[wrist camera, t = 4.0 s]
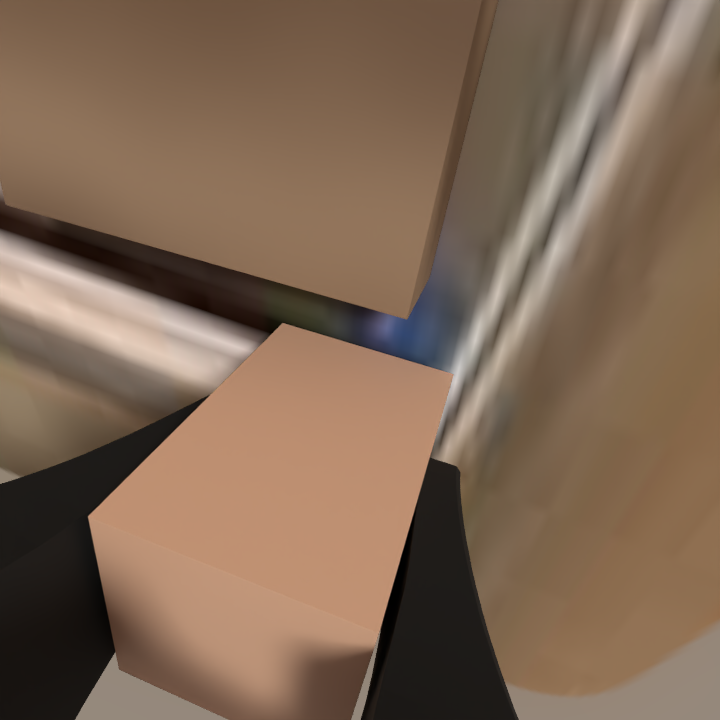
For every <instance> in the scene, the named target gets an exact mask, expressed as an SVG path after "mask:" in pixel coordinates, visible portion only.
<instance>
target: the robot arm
mask: <svg viewBox="0 0 720 720" xmlns="http://www.w3.org/2000/svg"><path fill="white" fill-rule="evenodd" d="M209 396H210V395H209ZM209 396H207V397H205V398H203V399H201V400H199V401H197V402H195V403H193V404H191V405H189V406H187V407H185V408H183V409H181V410H179V411H177V412H175V413H173V414H171V415H169V416H167V417H165V418H163V419H161V420H159V421H157V422H155V423H153V424H150V425H148V426H146V427H144V428H142V429H140V430H138V431H136V432H134V433H132V434H130V435H127V436H125V437H123V438H120V439H118V440H116V441H113V442H111V443H109V444H107V445H104V446H102V447H100V448H97V449H95V450H93V451H91V452H88V453H86V454H84V455H81V456H79V457H76V458H74V459H71V460H69V461H66V462H63V463H61V464H58V465H55V466H53V467H50V468H47V469H44V470H41V471H38V472H36V473H33V474H30V475H27V476H24V477H21V478H18V479H15V480H12V481H9V482H6V483H2V484H0V720H75V719H76V716H77V715H78V713H79V712H80V710H81V708H82V706H83V705H84V703H85V701H86V699H87V698H88V696H89V694H90V693H91V691H92V689H93V688H94V686H95V684H96V683H97V681H98V680H99V678H100V676H101V674H102V673H103V671H104V669H105V668H106V666H107V665H108V663H109V661H110V660H111V658H112V656H113V655H114V653H115V647H114V642H113V637H112V632H111V627H110V622H109V617H108V612H107V607H106V602H105V597H104V593H103V588H102V583H101V578H100V573H99V568H98V563H97V558H96V553H95V548H94V544H93V539H92V534H91V529H90V524H89V519H88V516H89V515H90V514H91V513H92V512H93V511H94V510H95V509H96V508H97V507H98V506H99V505H100V504H101V503H102V502H103V501H104V500H105V499H106V498H107V497H108V496H109V495H110V494H111V493H112V492H113V491H114V490H115V489H116V488H117V487H118V486H119V485H120V484H121V483H122V482H123V481H124V480H125V479H126V478H127V477H128V476H129V475H130V474H131V473H132V472H133V471H134V470H135V469H136V468H137V467H138V466H139V465H140V464H141V463H142V462H143V461H144V460H145V459H146V458H147V457H148V456H149V455H150V454H151V453H152V452H153V451H154V450H155V449H156V448H157V447H158V446H160V445H161V444H162V443H163V442H164V441H165V440H166V439H167V438H168V437H169V436H170V435H171V434H172V433H173V432H174V431H175V430H176V429H177V428H178V427H179V426H180V425H181V424H182V423H183V422H184V421H185V420H186V419H187V418H188V417H189V416H190V415H191V414H192V413H193V412H194V411H195V410H196V409H197V408H198V407H199V406H200V405H201V404H202V403H203V402H204V401H205V400H206V399H207V398H208V397H209ZM361 720H519V719H518V717H517V714H516V712H515V710H514V707H513V704H512V702H511V699H510V696H509V693H508V690H507V687H506V685H505V682H504V679H503V676H502V673H501V671H500V668H499V664H498V661H497V658H496V655H495V652H494V649H493V646H492V643H491V640H490V636H489V633H488V630H487V626H486V623H485V619H484V616H483V612H482V608H481V604H480V601H479V597H478V593H477V589H476V585H475V580H474V576H473V572H472V567H471V562H470V557H469V551H468V546H467V541H466V536H465V529H464V523H463V514H462V506H461V494H460V471H459V470H458V468H457V466H454V465H451V464H448V463H445V462H442V461H439V460H435V459H432V458H429V461H428V465H427V468H426V472H425V475H424V479H423V482H422V486H421V489H420V493H419V496H418V499H417V503H416V506H415V510H414V513H413V517H412V520H411V524H410V527H409V531H408V534H407V538H406V541H405V545H404V548H403V552H402V555H401V558H400V562H399V565H398V569H397V572H396V576H395V579H394V583H393V586H392V590H391V593H390V597H389V600H388V604H387V607H386V610H385V614H384V618H383V623H382V628H381V633H380V638H379V643H378V648H377V653H376V658H375V663H374V668H373V674H372V678H371V682H370V686H369V691H368V695H367V699H366V703H365V707H364V710H363V714H362V717H361Z"/></svg>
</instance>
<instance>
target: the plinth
mask: <svg viewBox="0 0 720 720" xmlns="http://www.w3.org/2000/svg"><path fill="white" fill-rule="evenodd" d="M497 4H498V0H0V181H1V186H2V190H3V195H4V199H5V204H6V205H8V206H12V207H15V208H19V209H22V210H26V211H29V212H33V213H36V214H40V215H43V216H47V217H50V218H54V219H57V220H61V221H64V222H68V223H71V224H75V225H78V226H82V227H85V228H89V229H92V230H96V231H99V232H103V233H106V234H110V235H113V236H117V237H120V238H124V239H127V240H131V241H134V242H138V243H141V244H145V245H148V246H152V247H155V248H159V249H162V250H166V251H169V252H173V253H176V254H180V255H183V256H187V257H190V258H194V259H197V260H201V261H204V262H208V263H211V264H215V265H218V266H222V267H225V268H229V269H232V270H236V271H239V272H243V273H246V274H250V275H253V276H257V277H260V278H264V279H267V280H271V281H274V282H278V283H281V284H285V285H288V286H292V287H295V288H299V289H302V290H306V291H309V292H313V293H316V294H320V295H323V296H327V297H330V298H334V299H337V300H341V301H344V302H348V303H351V304H355V305H358V306H362V307H365V308H369V309H372V310H376V311H379V312H383V313H386V314H390V315H393V316H397V317H400V318H404V319H408V317H409V315H410V313H411V311H412V309H413V307H414V306H415V304H416V302H417V300H418V298H419V296H420V294H421V292H422V291H423V289H424V287H425V285H426V283H427V281H428V279H429V277H430V274H431V270H432V266H433V262H434V258H435V254H436V249H437V245H438V241H439V237H440V233H441V229H442V225H443V221H444V217H445V213H446V209H447V205H448V201H449V197H450V193H451V189H452V185H453V181H454V177H455V173H456V169H457V165H458V161H459V157H460V153H461V149H462V145H463V141H464V137H465V133H466V129H467V125H468V121H469V117H470V113H471V109H472V105H473V101H474V97H475V93H476V89H477V85H478V81H479V77H480V73H481V69H482V65H483V61H484V57H485V53H486V49H487V45H488V41H489V37H490V33H491V29H492V25H493V21H494V17H495V12H496V8H497Z"/></svg>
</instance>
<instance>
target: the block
mask: <svg viewBox="0 0 720 720" xmlns="http://www.w3.org/2000/svg"><path fill="white" fill-rule="evenodd" d="M453 375H454V374H451V373H447V372H444V371H441V370H437V369H434V368H431V367H427V366H424V365H421V364H417V363H414V362H411V361H407V360H404V359H401V358H397V357H394V356H391V355H387V354H384V353H381V352H377V351H374V350H371V349H367V348H364V347H361V346H357V345H354V344H351V343H347V342H344V341H341V340H337V339H334V338H331V337H327V336H324V335H321V334H317V333H314V332H311V331H308V330H304V329H301V328H298V327H294V326H291V325H288V324H284V323H282V324H281V325H280V326H279V327H278V328H277V329H276V330H275V331H274V332H273V333H272V334H271V335H270V336H269V337H268V338H267V339H266V340H265V341H264V342H263V343H262V344H261V345H260V346H259V347H258V348H257V349H256V350H255V351H254V352H253V353H252V354H251V355H250V356H249V357H248V358H247V359H246V360H245V361H244V362H243V363H242V364H241V365H240V366H239V367H238V368H237V369H236V370H235V371H234V372H233V373H232V374H231V375H230V376H229V377H228V378H227V379H226V380H225V381H224V382H223V383H222V384H221V385H220V386H219V387H218V388H217V389H216V390H215V391H214V392H213V393H212V394H211V395H210V396H209V397H208V398H207V399H206V400H205V401H204V402H203V403H202V404H201V405H200V406H199V407H198V408H197V409H196V410H195V411H194V412H193V413H192V414H191V415H190V416H189V417H188V418H187V419H186V420H185V421H184V422H183V423H182V424H181V425H180V426H179V427H178V428H177V429H176V430H175V431H174V432H173V433H172V434H171V435H170V436H169V437H168V438H167V439H166V440H165V441H164V442H163V443H162V444H161V445H160V446H158V447H157V448H156V449H155V450H154V451H153V452H152V453H151V454H150V455H149V456H148V457H147V458H146V459H145V460H144V461H143V462H142V463H141V464H140V465H139V466H138V467H137V468H136V469H135V470H134V471H133V472H132V473H131V474H130V475H129V476H128V477H127V478H126V479H125V480H124V481H123V482H122V483H121V484H120V485H119V486H118V487H117V488H116V489H115V490H114V491H113V492H112V493H111V494H110V495H109V496H108V497H107V498H106V499H105V500H104V501H103V502H102V503H101V504H100V505H99V506H98V507H97V508H96V509H95V510H94V511H93V512H92V513H91V514H90V515H89V516H88V519H89V524H90V529H91V534H92V539H93V544H94V548H95V553H96V558H97V563H98V568H99V573H100V578H101V583H102V588H103V593H104V597H105V602H106V607H107V612H108V617H109V622H110V627H111V632H112V637H113V642H114V647H115V651H116V656H117V661H118V666H119V669H120V670H121V671H124V672H126V673H128V674H130V675H132V676H134V677H137V678H139V679H141V680H143V681H145V682H147V683H150V684H152V685H154V686H156V687H158V688H160V689H163V690H165V691H167V692H169V693H171V694H174V695H176V696H178V697H181V698H182V699H185V700H187V701H189V702H191V703H193V704H195V705H198V706H200V707H202V708H204V709H206V710H209V711H211V712H213V713H215V714H217V715H220V716H222V717H224V718H226V719H228V720H351V718H352V715H353V712H354V708H355V706H356V702H357V699H358V696H359V693H360V690H361V687H362V684H363V681H364V678H365V675H366V671H367V668H368V665H369V662H370V659H371V656H372V653H373V650H374V647H375V644H376V641H377V638H378V635H379V631H380V628H381V624H382V621H383V617H384V614H385V610H386V607H387V604H388V600H389V597H390V593H391V590H392V586H393V583H394V579H395V576H396V572H397V569H398V565H399V562H400V558H401V555H402V552H403V548H404V545H405V541H406V538H407V534H408V531H409V527H410V524H411V520H412V517H413V513H414V510H415V506H416V503H417V499H418V496H419V493H420V489H421V486H422V482H423V479H424V475H425V472H426V468H427V465H428V461H429V458H430V454H431V451H432V447H433V444H434V441H435V437H436V434H437V430H438V427H439V423H440V420H441V416H442V413H443V409H444V406H445V402H446V399H447V395H448V392H449V389H450V385H451V382H452V378H453Z"/></svg>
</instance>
